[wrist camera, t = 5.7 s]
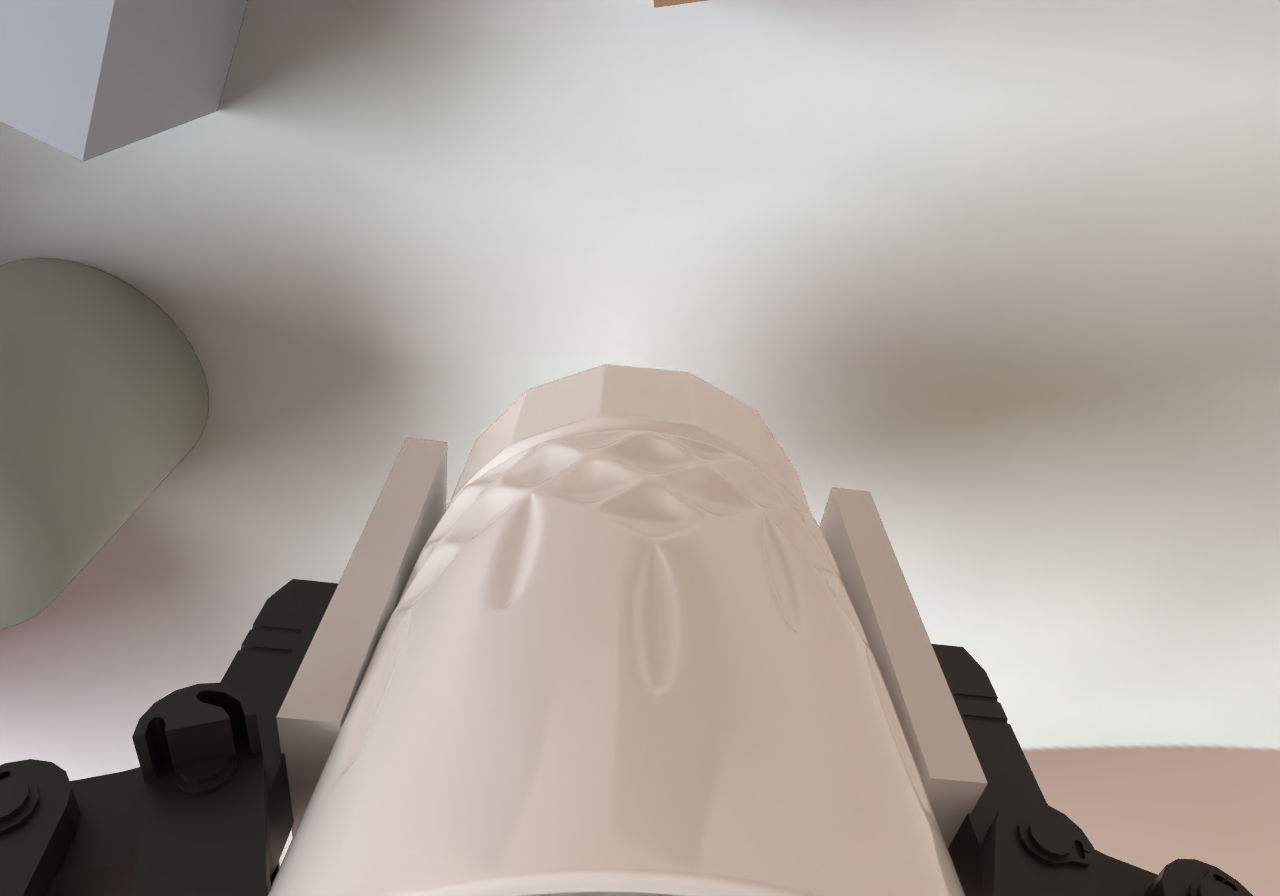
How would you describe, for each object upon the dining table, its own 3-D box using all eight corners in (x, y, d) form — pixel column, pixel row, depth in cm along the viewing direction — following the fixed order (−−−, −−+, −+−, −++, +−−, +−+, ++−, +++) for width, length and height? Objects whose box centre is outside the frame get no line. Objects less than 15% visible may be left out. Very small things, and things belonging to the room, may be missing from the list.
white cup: (736, 684, 19) (810, 1272, 11) (400, 602, 18) (185, 1197, 10) (897, 403, 15) (1209, 982, 7) (482, 272, 14) (237, 788, 6)
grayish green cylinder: (-76, 241, 19) (-342, 349, 14) (191, 276, 19) (26, 394, 14) (-8, 460, 22) (-205, 614, 17) (222, 487, 23) (96, 646, 17)
